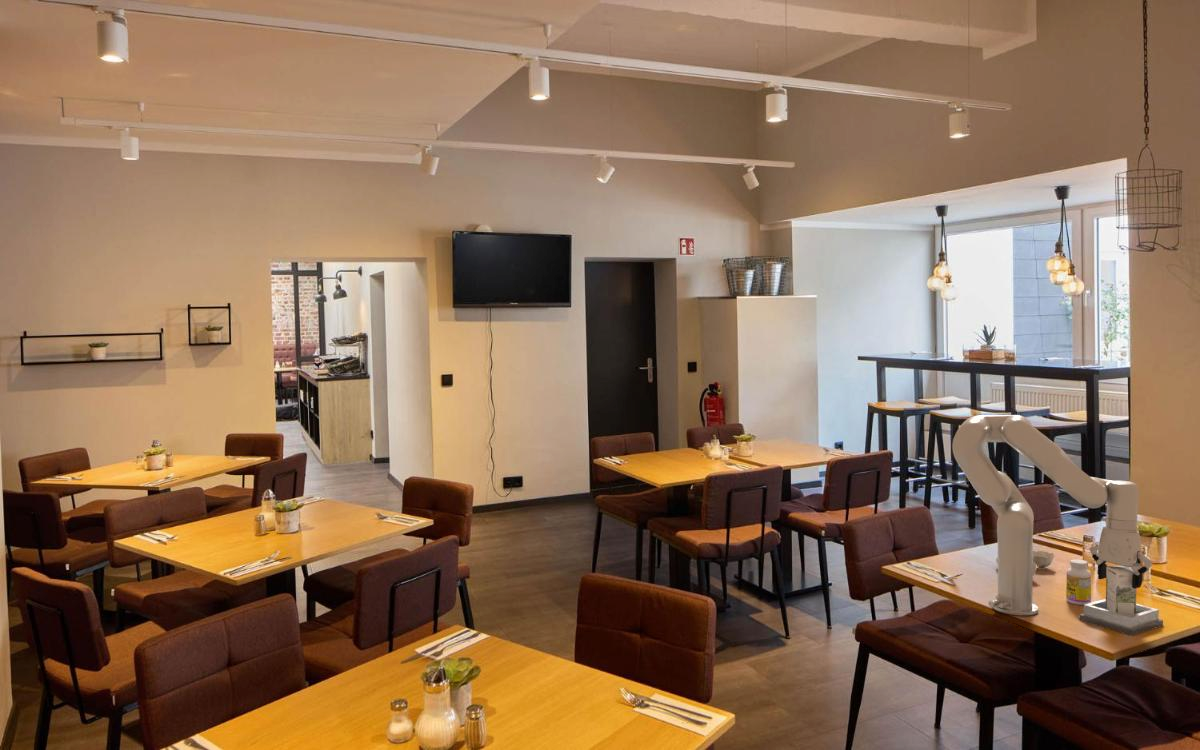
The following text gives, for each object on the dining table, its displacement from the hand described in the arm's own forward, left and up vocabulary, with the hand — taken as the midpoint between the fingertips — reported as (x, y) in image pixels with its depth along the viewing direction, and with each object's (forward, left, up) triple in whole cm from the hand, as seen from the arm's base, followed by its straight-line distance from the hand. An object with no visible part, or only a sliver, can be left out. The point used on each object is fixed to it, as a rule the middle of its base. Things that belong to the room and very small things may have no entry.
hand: (1119, 583), depth 245 cm
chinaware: (+22, +46, -12) cm, 52 cm away
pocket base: (0, 0, -12) cm, 12 cm away
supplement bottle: (+7, +17, -12) cm, 22 cm away
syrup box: (0, 0, -10) cm, 10 cm away
